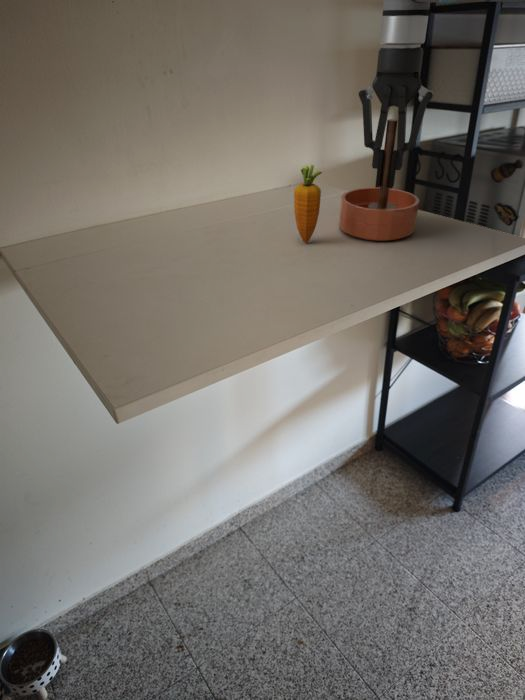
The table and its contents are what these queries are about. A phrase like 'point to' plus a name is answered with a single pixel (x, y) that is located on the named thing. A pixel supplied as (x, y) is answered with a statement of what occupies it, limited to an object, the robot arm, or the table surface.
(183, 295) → the table surface
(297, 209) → the carrot
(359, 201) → the bowl
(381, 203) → the dark brown rod
